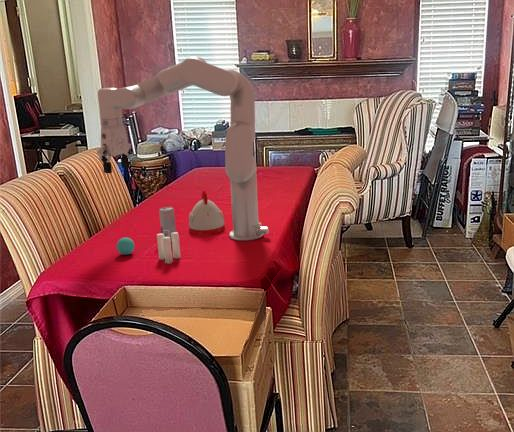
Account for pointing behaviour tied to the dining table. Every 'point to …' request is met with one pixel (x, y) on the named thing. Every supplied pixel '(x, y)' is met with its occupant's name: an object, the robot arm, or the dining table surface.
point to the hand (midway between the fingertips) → (117, 170)
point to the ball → (125, 246)
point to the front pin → (160, 246)
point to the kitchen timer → (205, 217)
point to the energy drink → (167, 221)
